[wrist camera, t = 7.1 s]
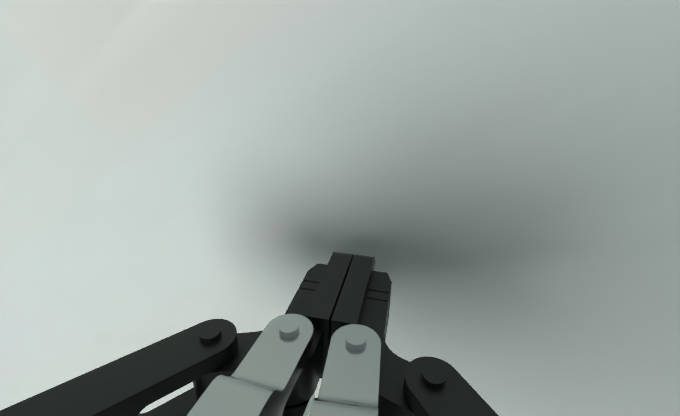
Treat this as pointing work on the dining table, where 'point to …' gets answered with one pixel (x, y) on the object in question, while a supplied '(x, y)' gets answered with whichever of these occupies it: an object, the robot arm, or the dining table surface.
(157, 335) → the dining table surface
